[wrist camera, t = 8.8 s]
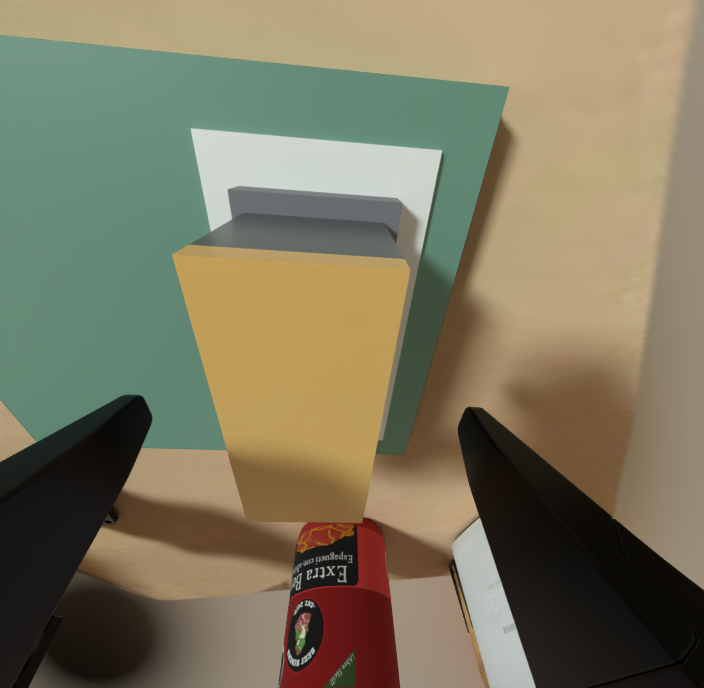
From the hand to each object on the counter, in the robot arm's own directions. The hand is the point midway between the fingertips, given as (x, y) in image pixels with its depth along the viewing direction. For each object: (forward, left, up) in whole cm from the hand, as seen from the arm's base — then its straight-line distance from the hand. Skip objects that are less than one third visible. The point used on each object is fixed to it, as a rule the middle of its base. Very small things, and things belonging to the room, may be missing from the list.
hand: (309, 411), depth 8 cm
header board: (0, +5, -6) cm, 8 cm away
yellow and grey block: (0, 0, -3) cm, 3 cm away
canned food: (-22, -2, -6) cm, 23 cm away
